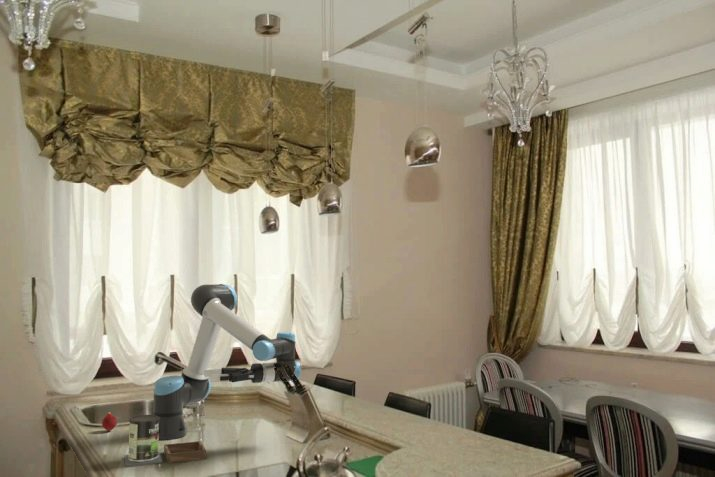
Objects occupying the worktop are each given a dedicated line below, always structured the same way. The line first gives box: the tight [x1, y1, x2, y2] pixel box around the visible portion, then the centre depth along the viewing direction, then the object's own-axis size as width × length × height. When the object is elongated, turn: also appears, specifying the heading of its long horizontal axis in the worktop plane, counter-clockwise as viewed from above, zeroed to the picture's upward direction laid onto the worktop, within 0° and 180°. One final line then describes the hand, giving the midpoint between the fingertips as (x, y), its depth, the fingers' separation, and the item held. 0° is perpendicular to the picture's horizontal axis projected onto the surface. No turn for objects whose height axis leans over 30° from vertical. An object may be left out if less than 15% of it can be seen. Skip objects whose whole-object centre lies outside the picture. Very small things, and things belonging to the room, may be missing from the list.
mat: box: [123, 451, 163, 468], centre depth 218 cm, size 12×12×1 cm
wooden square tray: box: [163, 440, 207, 464], centre depth 224 cm, size 13×13×3 cm
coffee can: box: [127, 414, 160, 462], centre depth 218 cm, size 10×10×14 cm
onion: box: [101, 411, 118, 432], centre depth 257 cm, size 6×6×8 cm
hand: (207, 375), depth 232 cm, fingers open, 13 cm apart
